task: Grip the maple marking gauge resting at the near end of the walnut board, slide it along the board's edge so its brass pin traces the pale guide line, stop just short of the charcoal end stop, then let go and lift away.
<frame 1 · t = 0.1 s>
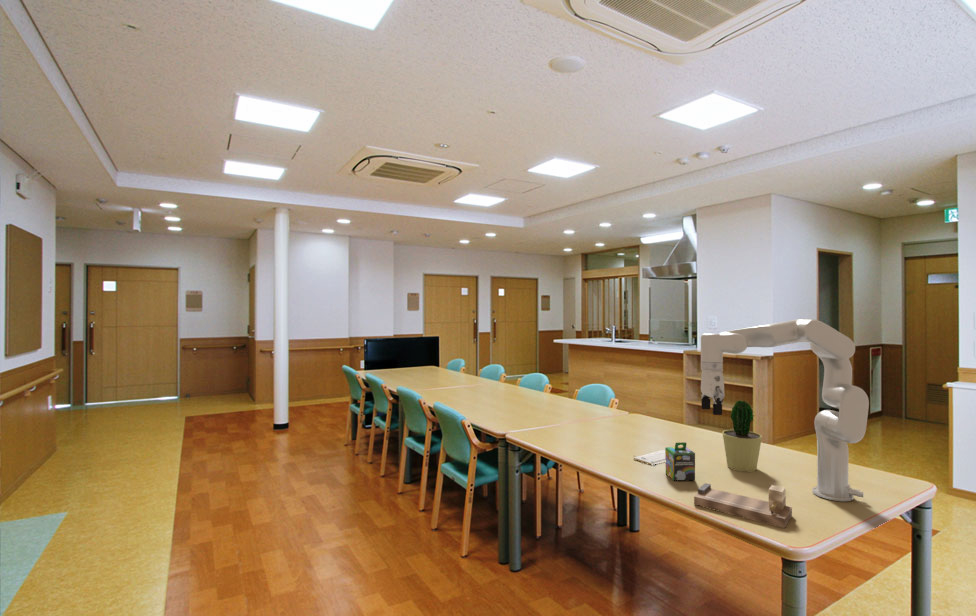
hand: (711, 411, 183), 31 cm above the table, tool pointing down, fingers open, 9 cm apart
potted cactus: (741, 468, 214), on the table
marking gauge: (776, 506, 165), point 3 cm above the table, touching walnut board
walnut board: (741, 510, 169), on the table
chalk box: (679, 477, 202), on the table
baseboard molding: (665, 458, 229), on the table
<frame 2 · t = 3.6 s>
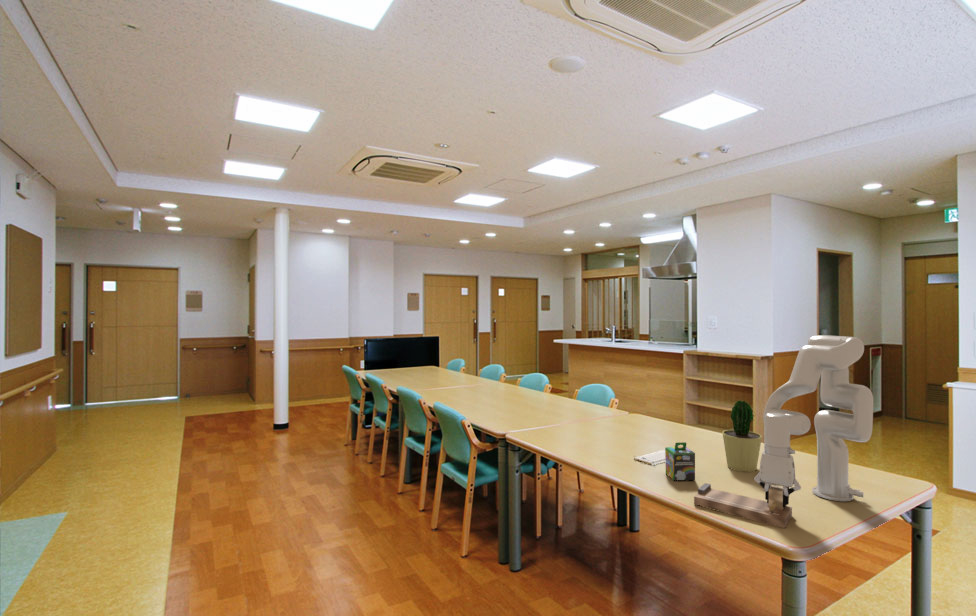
hand: (776, 503, 165), 4 cm above the table, tool pointing down, fingers closed on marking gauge, 3 cm apart
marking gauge: (776, 506, 165), point 3 cm above the table, touching gripper, walnut board
everything else where it was.
when the fingers open (4 cm above the table, at t = 9.3 s): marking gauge stays where it is, resting on walnut board.
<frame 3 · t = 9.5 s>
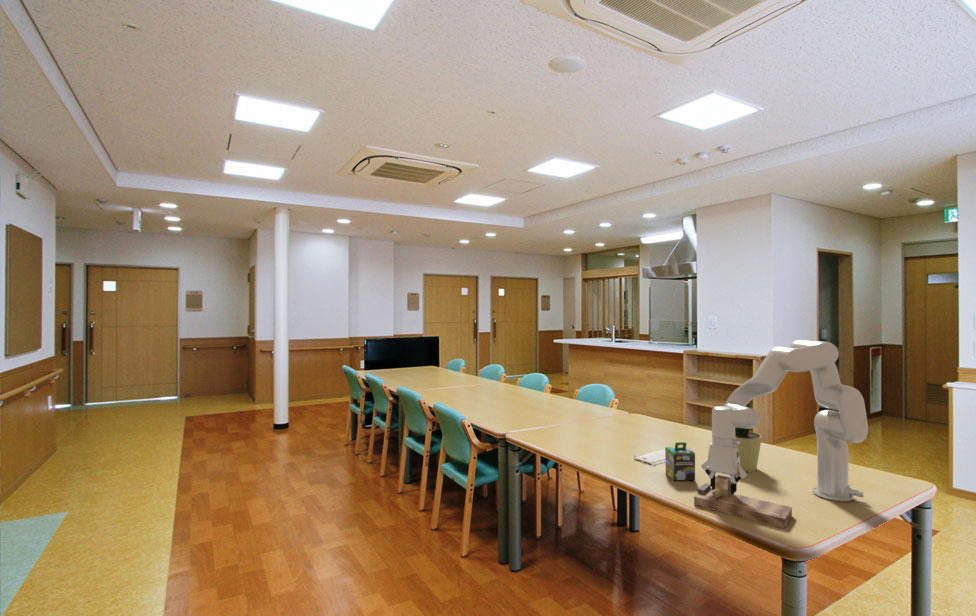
hand: (723, 490, 176), 4 cm above the table, tool pointing down, fingers open, 5 cm apart
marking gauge: (723, 493, 176), point 3 cm above the table, touching walnut board
everything else where it was.
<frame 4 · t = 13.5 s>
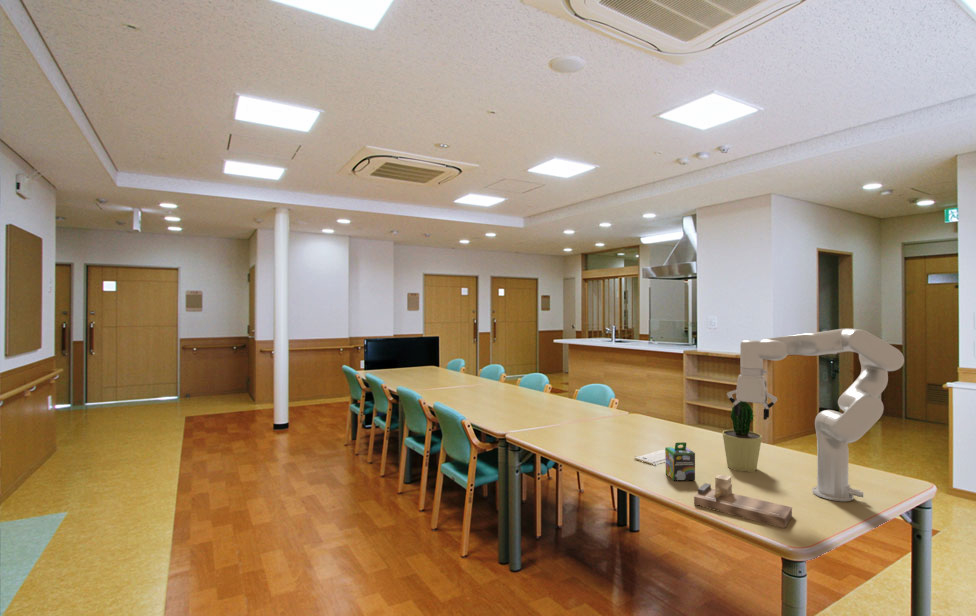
hand: (751, 417, 187), 28 cm above the table, tool pointing down, fingers open, 9 cm apart
nothing on the table moved.
at the end: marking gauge 0.3 cm from the target spot, point 3.0 cm above the table; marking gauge tilted 0°; the gripper is holding nothing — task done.
